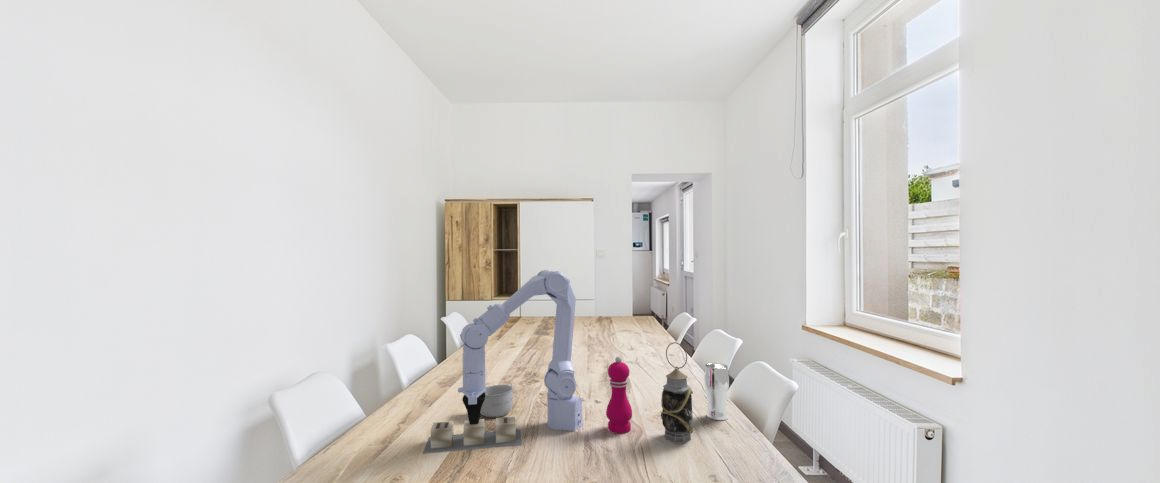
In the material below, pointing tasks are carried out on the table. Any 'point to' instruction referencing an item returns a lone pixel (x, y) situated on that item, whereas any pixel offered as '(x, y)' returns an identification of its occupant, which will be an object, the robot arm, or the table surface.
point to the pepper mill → (619, 398)
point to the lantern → (677, 406)
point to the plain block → (474, 432)
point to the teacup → (497, 401)
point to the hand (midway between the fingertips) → (474, 423)
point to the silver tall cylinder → (716, 390)
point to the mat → (459, 445)
